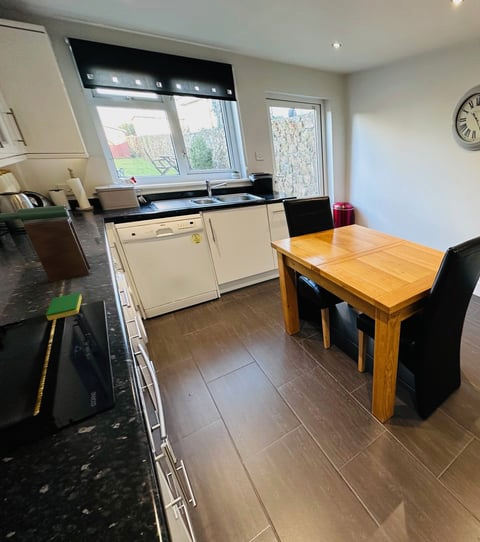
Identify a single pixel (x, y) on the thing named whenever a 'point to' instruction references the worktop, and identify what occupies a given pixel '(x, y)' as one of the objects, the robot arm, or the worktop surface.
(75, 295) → the dish sponge
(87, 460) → the worktop surface
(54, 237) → the dark brown block
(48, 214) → the bottle
